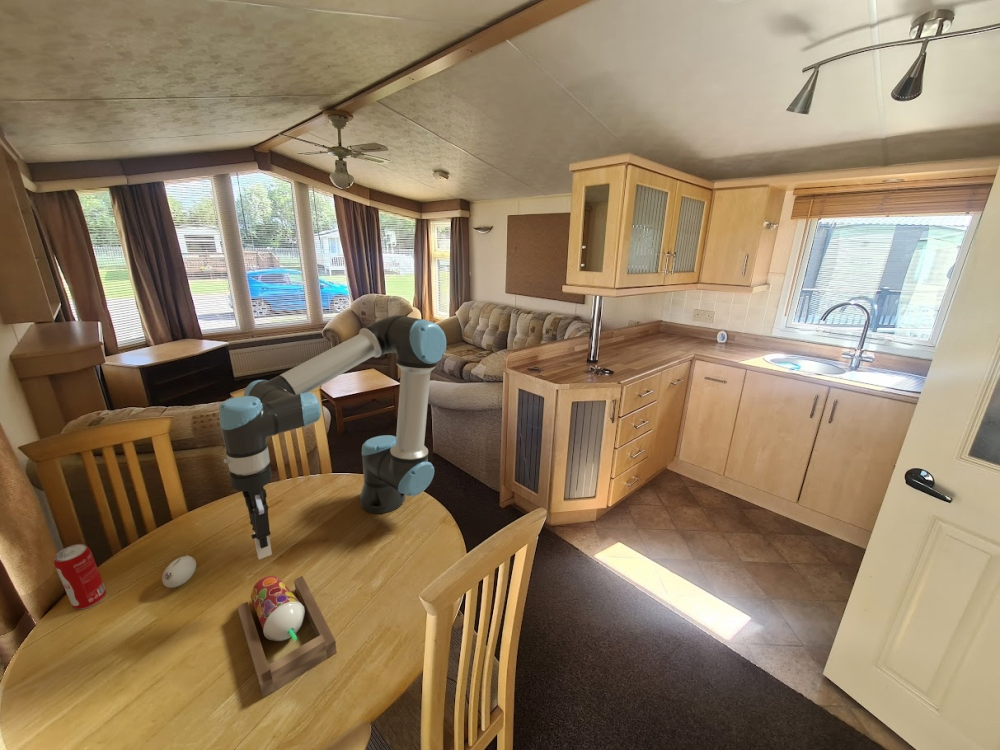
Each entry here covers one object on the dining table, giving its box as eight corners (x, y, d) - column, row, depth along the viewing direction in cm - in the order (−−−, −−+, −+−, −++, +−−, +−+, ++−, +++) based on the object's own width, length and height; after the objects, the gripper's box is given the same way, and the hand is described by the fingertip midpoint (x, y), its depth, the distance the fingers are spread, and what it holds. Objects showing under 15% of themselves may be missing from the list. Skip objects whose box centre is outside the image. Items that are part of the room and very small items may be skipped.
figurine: (181, 571, 103) (175, 550, 101) (205, 570, 103) (200, 549, 101) (158, 596, 95) (151, 574, 93) (184, 596, 96) (178, 574, 94)
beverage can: (106, 586, 98) (90, 536, 93) (107, 602, 93) (90, 551, 89) (71, 599, 94) (53, 548, 89) (70, 617, 89) (51, 565, 85)
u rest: (304, 586, 100) (301, 570, 99) (336, 652, 84) (334, 635, 83) (239, 617, 91) (236, 601, 90) (263, 698, 75) (259, 679, 74)
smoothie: (266, 607, 97) (296, 662, 83) (236, 599, 91) (263, 656, 78) (291, 575, 100) (323, 623, 86) (263, 565, 94) (294, 615, 81)
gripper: (224, 460, 87) (240, 546, 94) (235, 486, 78) (252, 580, 85) (262, 450, 92) (275, 533, 99) (277, 474, 83) (289, 564, 90)
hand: (264, 555), depth 92 cm, fingers closed
